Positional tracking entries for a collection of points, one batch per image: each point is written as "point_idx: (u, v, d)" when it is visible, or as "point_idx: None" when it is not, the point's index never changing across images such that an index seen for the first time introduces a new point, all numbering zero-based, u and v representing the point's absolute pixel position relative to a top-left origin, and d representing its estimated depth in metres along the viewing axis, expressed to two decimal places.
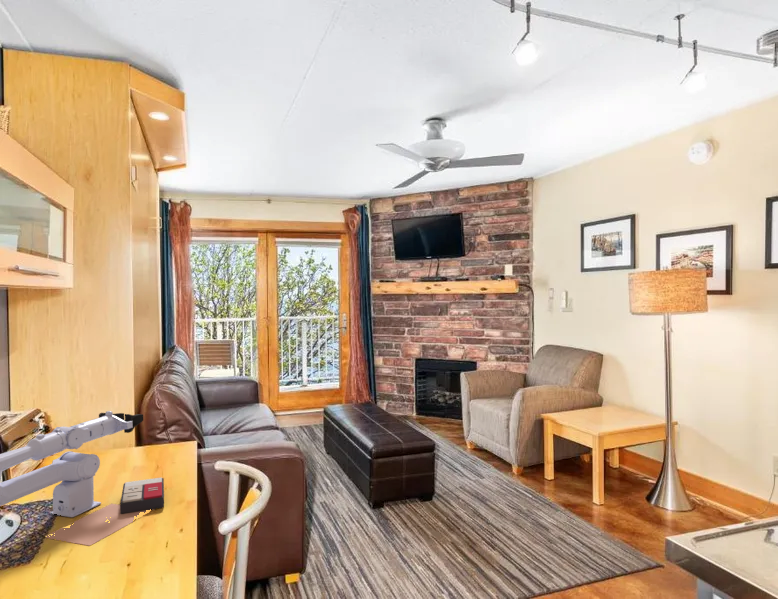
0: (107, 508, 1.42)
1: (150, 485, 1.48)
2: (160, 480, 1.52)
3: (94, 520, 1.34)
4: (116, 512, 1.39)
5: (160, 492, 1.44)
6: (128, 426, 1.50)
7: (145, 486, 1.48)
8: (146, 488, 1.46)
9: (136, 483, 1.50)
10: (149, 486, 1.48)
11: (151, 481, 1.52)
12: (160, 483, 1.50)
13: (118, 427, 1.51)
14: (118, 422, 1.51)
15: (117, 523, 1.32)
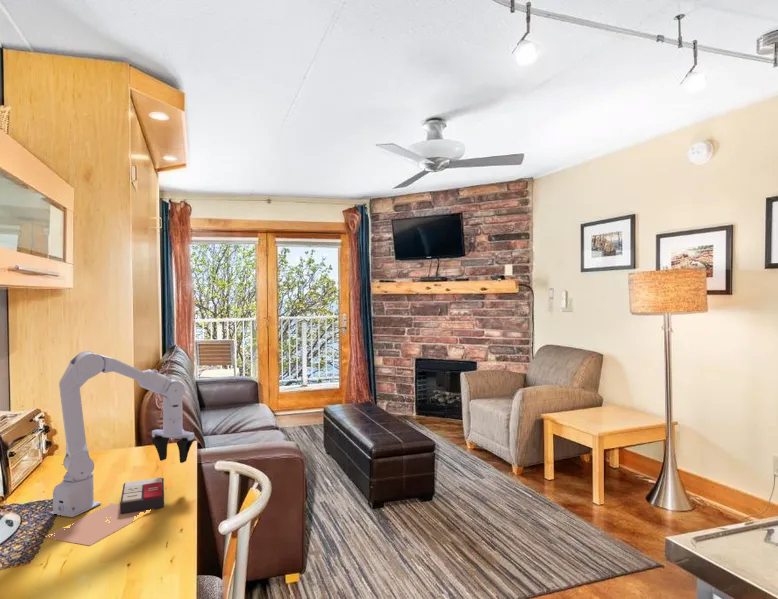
0: (107, 508, 1.42)
1: (150, 485, 1.48)
2: (160, 480, 1.52)
3: (94, 520, 1.34)
4: (116, 512, 1.39)
5: (160, 492, 1.44)
6: (191, 434, 1.56)
7: (145, 486, 1.48)
8: (146, 488, 1.46)
9: (136, 483, 1.50)
10: (149, 486, 1.48)
11: (151, 481, 1.52)
12: (160, 483, 1.50)
13: None
14: None
15: (117, 523, 1.32)
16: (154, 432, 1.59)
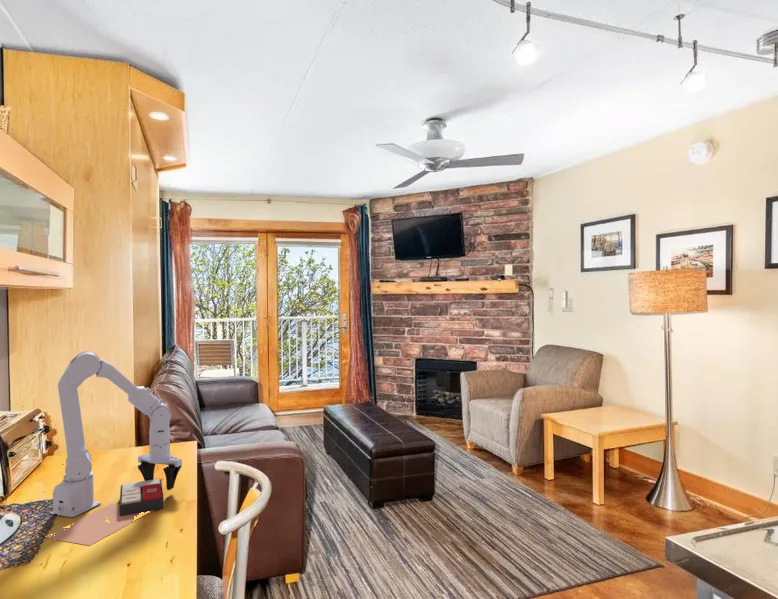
0: (107, 508, 1.42)
1: (148, 486, 1.47)
2: (158, 481, 1.51)
3: (94, 520, 1.34)
4: (116, 512, 1.39)
5: (159, 493, 1.43)
6: (179, 461, 1.51)
7: (143, 488, 1.46)
8: (144, 489, 1.45)
9: (134, 485, 1.49)
10: (147, 487, 1.46)
11: (149, 482, 1.50)
12: (158, 484, 1.49)
13: None
14: (170, 459, 1.53)
15: (117, 523, 1.32)
16: (140, 458, 1.54)
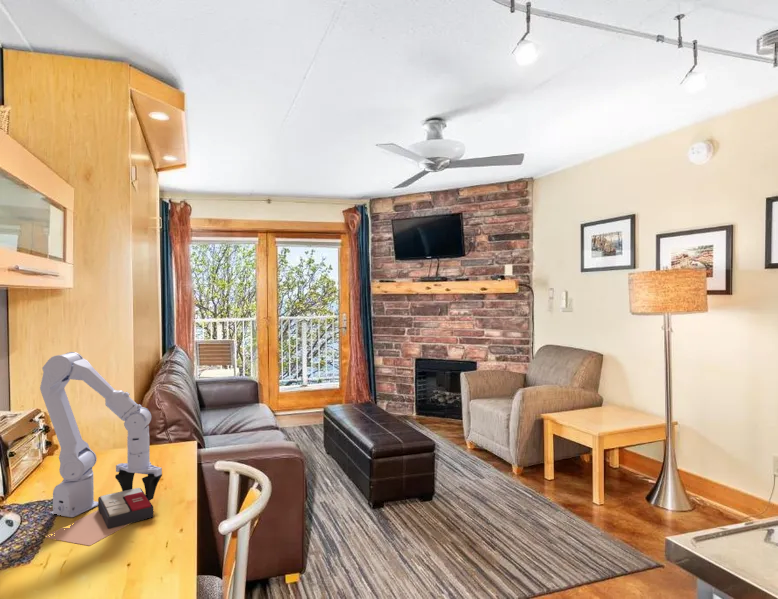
0: None
1: (132, 496, 1.40)
2: (140, 490, 1.44)
3: (94, 520, 1.34)
4: None
5: (147, 502, 1.37)
6: (158, 470, 1.43)
7: (126, 498, 1.39)
8: (129, 499, 1.38)
9: (114, 496, 1.40)
10: (131, 497, 1.39)
11: (130, 492, 1.43)
12: (142, 493, 1.42)
13: (145, 469, 1.43)
14: (150, 468, 1.45)
15: None
16: (118, 466, 1.46)
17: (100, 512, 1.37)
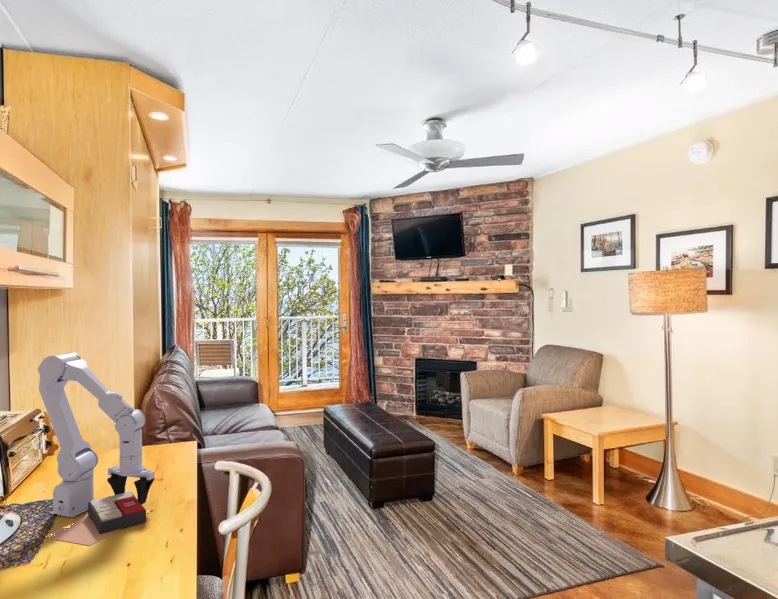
0: None
1: (123, 500, 1.37)
2: (131, 494, 1.41)
3: None
4: None
5: (140, 506, 1.34)
6: (151, 473, 1.40)
7: (118, 502, 1.36)
8: (121, 504, 1.35)
9: (104, 500, 1.37)
10: (123, 501, 1.36)
11: (121, 496, 1.40)
12: (133, 497, 1.39)
13: None
14: None
15: None
16: (110, 470, 1.43)
17: (90, 517, 1.34)
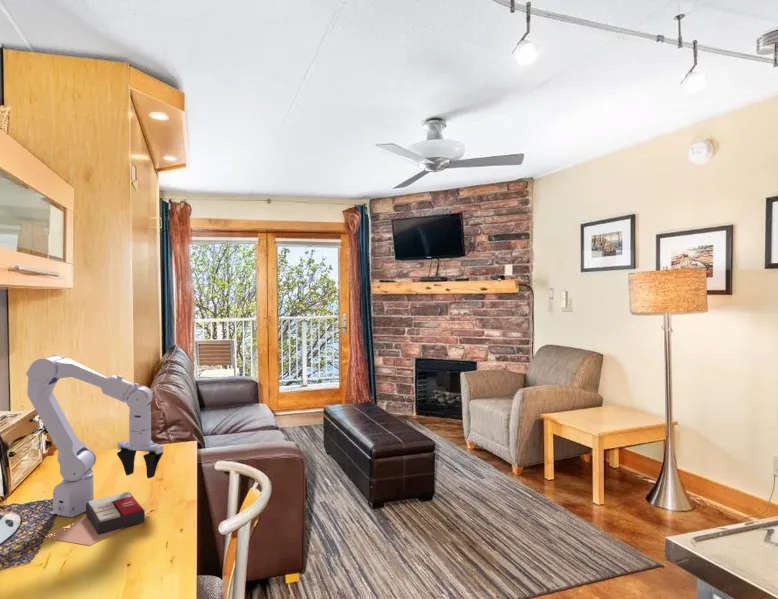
0: None
1: (121, 501, 1.37)
2: (129, 494, 1.41)
3: None
4: None
5: (138, 506, 1.34)
6: (160, 447, 1.43)
7: (116, 502, 1.36)
8: (119, 504, 1.35)
9: (102, 501, 1.37)
10: (121, 502, 1.36)
11: (119, 497, 1.40)
12: (131, 497, 1.39)
13: None
14: None
15: None
16: (120, 444, 1.46)
17: (88, 518, 1.34)
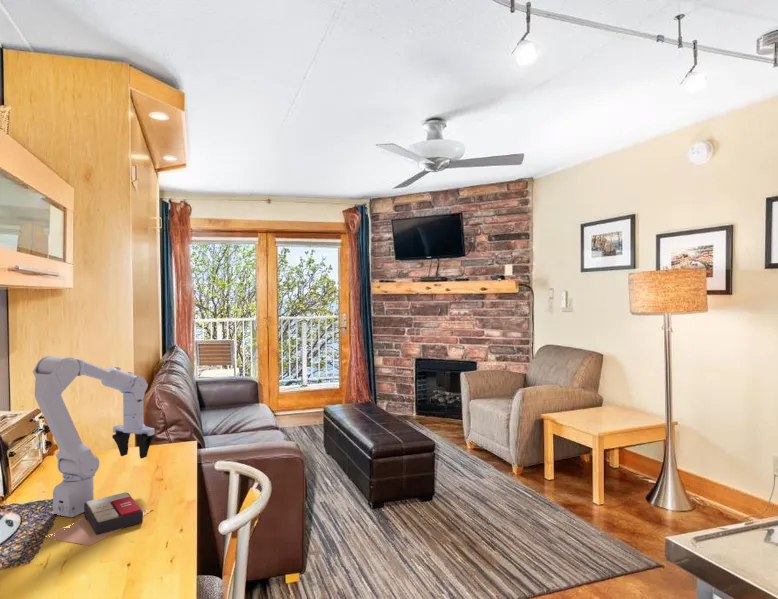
0: None
1: (119, 501, 1.37)
2: (127, 495, 1.41)
3: None
4: None
5: (136, 507, 1.34)
6: (151, 430, 1.56)
7: (114, 503, 1.36)
8: (117, 504, 1.35)
9: (100, 501, 1.37)
10: (119, 502, 1.36)
11: (117, 497, 1.39)
12: (130, 498, 1.39)
13: (140, 430, 1.57)
14: None
15: None
16: (115, 427, 1.59)
17: (86, 518, 1.33)
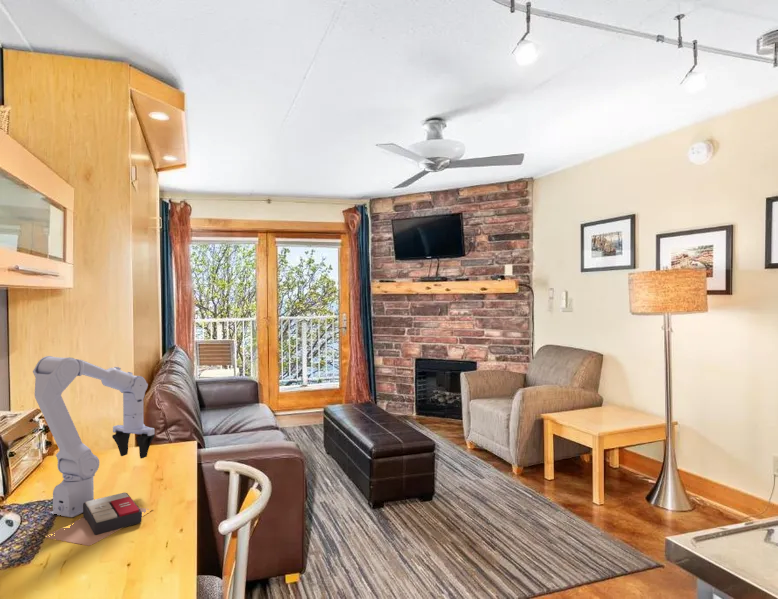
0: None
1: (118, 501, 1.36)
2: (126, 495, 1.41)
3: None
4: None
5: (135, 507, 1.34)
6: (151, 430, 1.56)
7: (113, 503, 1.36)
8: (116, 505, 1.34)
9: (99, 501, 1.37)
10: (118, 502, 1.36)
11: (116, 497, 1.39)
12: (129, 498, 1.39)
13: (140, 430, 1.57)
14: None
15: None
16: (115, 427, 1.59)
17: (85, 518, 1.33)
